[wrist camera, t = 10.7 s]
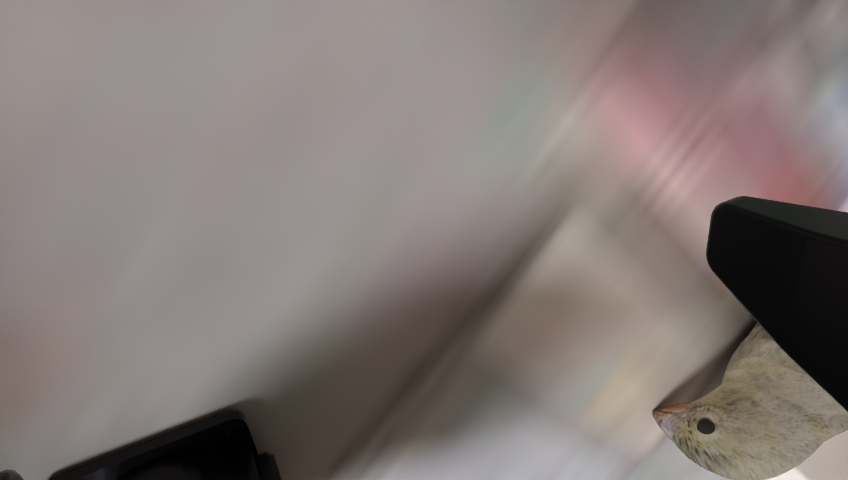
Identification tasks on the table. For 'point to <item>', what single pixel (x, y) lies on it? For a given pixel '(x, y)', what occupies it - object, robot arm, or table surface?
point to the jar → (823, 462)
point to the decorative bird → (755, 415)
